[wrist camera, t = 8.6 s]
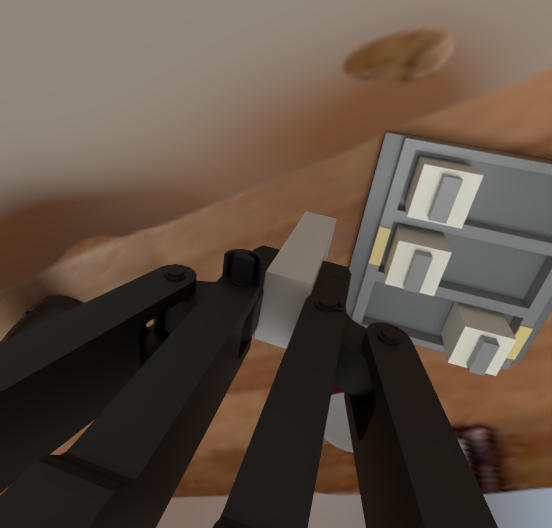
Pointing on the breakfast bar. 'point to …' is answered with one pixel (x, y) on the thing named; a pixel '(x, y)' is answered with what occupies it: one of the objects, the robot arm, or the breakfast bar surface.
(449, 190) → the white and grey block
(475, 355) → the tab
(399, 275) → the tab
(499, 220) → the switch bank
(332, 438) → the mug
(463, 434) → the breakfast bar surface
